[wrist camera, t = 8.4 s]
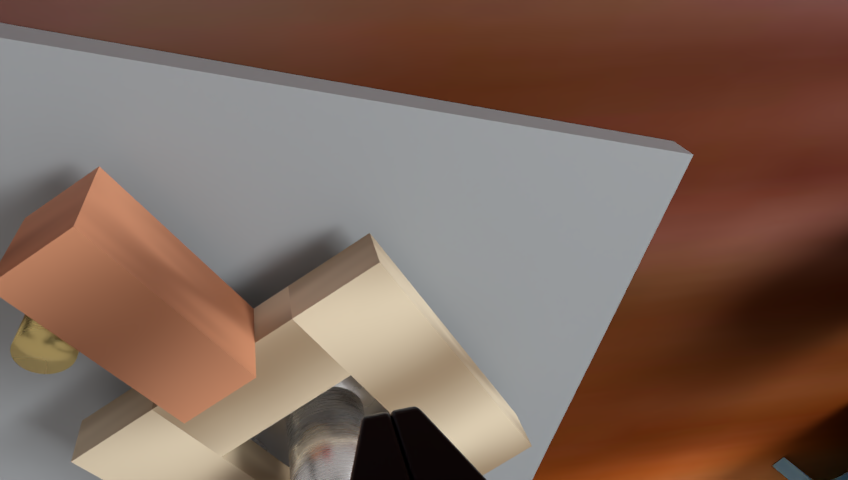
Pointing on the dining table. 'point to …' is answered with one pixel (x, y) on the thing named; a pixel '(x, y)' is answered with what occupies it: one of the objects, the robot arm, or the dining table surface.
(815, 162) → the dining table surface
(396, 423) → the robot arm
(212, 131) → the board
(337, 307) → the flange plate
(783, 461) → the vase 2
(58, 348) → the dowel
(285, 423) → the post
